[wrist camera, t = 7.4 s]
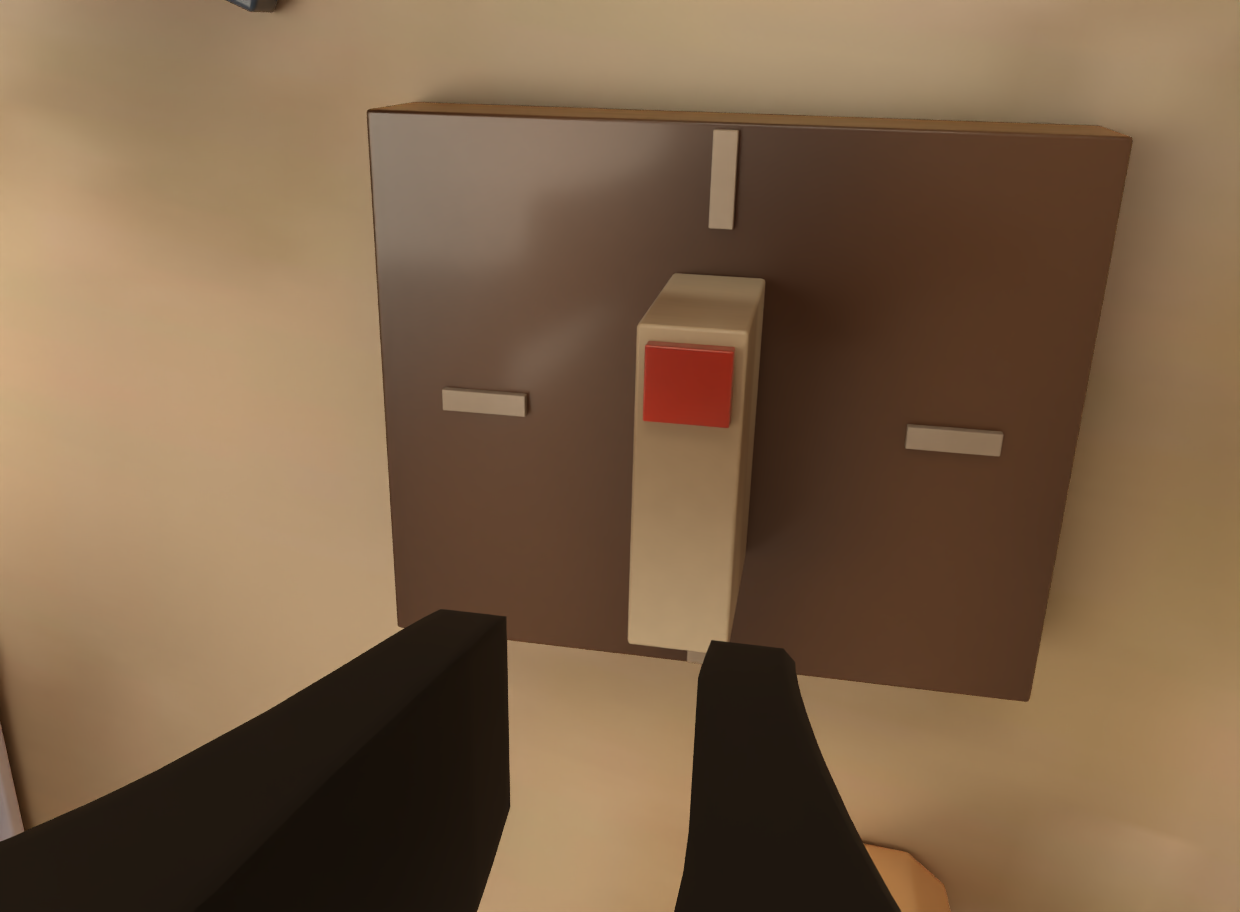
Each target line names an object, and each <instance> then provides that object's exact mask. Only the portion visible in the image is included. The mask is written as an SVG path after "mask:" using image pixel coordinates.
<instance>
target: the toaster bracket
mask: <svg viewBox="0 0 1240 912" xmlns="http://www.w3.org/2000/svg"><path fill="white" fill-rule="evenodd" d="M226 1H228V2H230V3H233V4H235V5H237V6H239V7H241V8H243V9H245V10H247V11H250V12H273V11H274V10H275V8H276V4H277V0H226Z"/></svg>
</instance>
